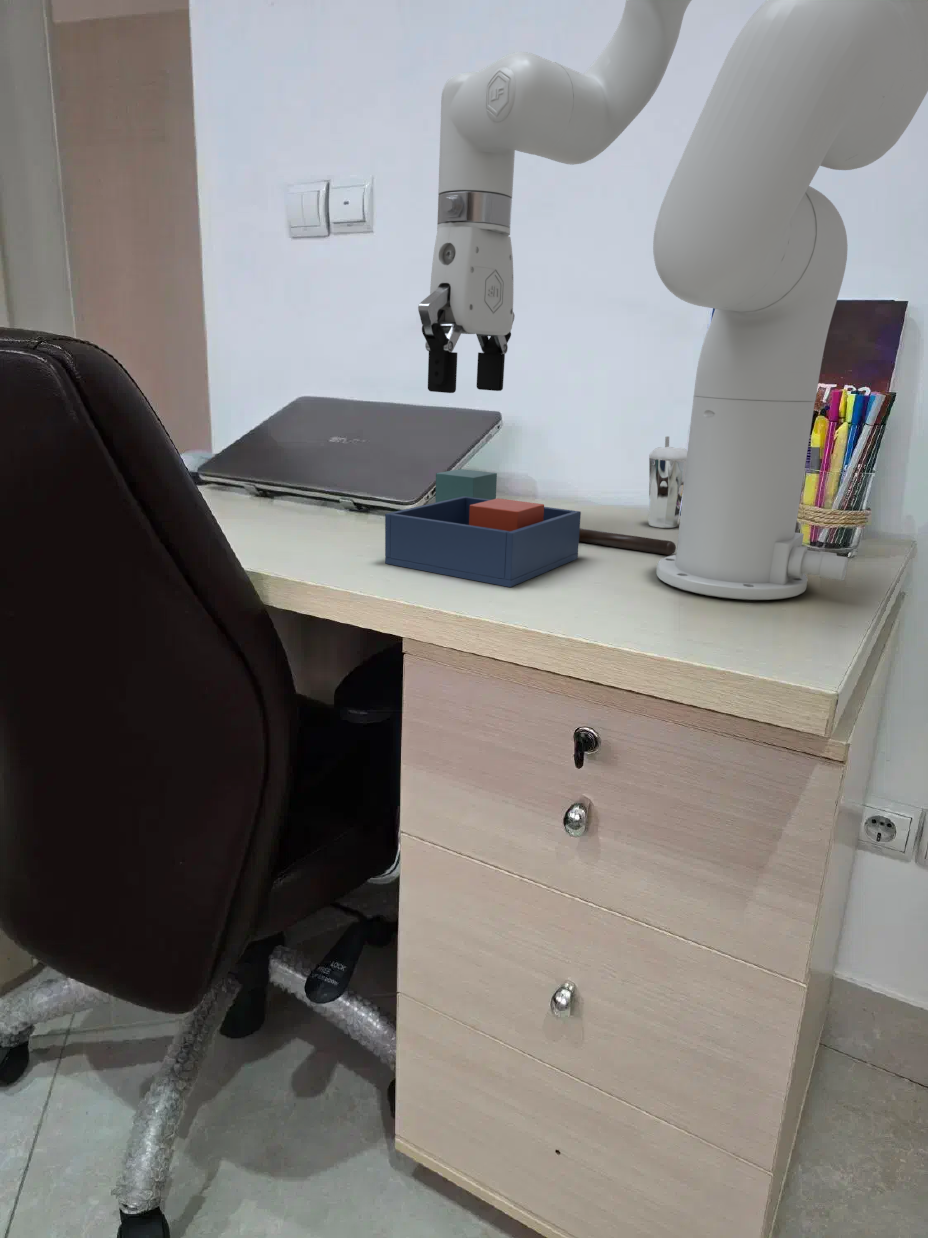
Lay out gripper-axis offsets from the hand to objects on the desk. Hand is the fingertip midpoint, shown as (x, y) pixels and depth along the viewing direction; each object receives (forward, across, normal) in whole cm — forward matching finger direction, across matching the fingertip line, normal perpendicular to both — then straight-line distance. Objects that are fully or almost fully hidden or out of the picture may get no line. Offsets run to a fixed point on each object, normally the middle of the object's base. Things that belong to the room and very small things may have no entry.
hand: (466, 390), depth 90 cm
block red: (+14, -14, -14) cm, 24 cm away
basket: (+14, -14, -11) cm, 23 cm away
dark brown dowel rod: (+14, 0, -11) cm, 18 cm away
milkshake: (+15, +15, -18) cm, 28 cm away
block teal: (+14, 0, 0) cm, 14 cm away
